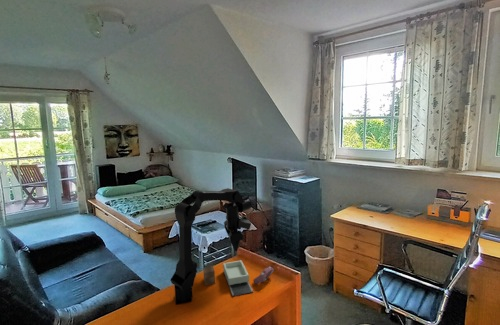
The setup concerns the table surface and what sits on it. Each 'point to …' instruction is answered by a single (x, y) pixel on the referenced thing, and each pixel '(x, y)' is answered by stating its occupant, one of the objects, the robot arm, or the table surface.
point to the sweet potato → (264, 275)
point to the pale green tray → (235, 272)
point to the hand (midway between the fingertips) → (234, 246)
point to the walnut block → (209, 275)
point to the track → (240, 288)
